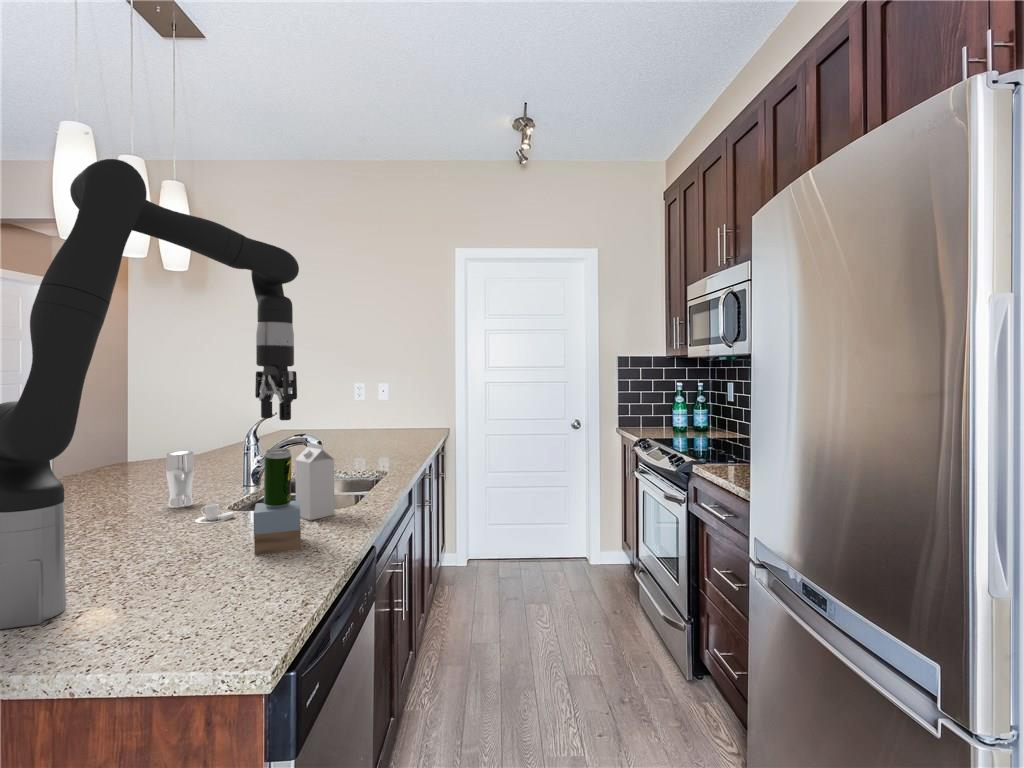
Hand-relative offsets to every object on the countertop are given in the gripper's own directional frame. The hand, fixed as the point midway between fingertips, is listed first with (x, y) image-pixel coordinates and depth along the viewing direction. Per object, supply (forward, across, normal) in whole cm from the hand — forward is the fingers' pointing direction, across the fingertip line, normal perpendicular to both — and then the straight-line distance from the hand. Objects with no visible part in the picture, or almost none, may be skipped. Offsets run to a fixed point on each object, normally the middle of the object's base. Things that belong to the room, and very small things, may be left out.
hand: (275, 419), depth 121 cm
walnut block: (+28, 0, 0) cm, 28 cm away
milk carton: (+28, +17, -19) cm, 38 cm away
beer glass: (+28, +56, 0) cm, 63 cm away
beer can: (+19, 0, 0) cm, 19 cm away
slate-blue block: (+24, 0, 0) cm, 24 cm away
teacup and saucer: (+28, +31, +1) cm, 42 cm away
